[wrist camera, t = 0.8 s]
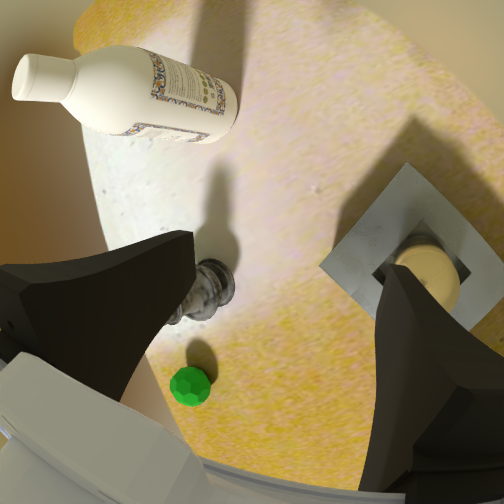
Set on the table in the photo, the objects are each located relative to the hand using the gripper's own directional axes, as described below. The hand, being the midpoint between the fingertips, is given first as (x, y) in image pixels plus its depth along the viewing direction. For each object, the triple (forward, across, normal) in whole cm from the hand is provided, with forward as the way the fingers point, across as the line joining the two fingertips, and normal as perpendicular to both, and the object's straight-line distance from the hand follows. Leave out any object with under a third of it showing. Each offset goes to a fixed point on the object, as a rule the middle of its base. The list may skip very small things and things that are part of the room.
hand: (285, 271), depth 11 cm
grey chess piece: (+16, +10, +13) cm, 23 cm away
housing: (+14, -9, +5) cm, 17 cm away
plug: (+13, -9, +5) cm, 16 cm away
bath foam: (+20, +12, -4) cm, 24 cm away
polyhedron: (+13, +12, +26) cm, 31 cm away
